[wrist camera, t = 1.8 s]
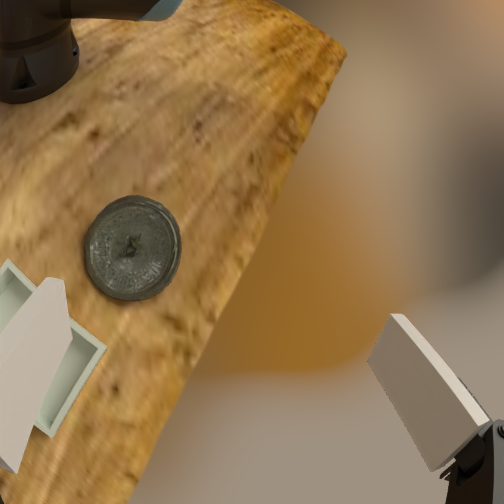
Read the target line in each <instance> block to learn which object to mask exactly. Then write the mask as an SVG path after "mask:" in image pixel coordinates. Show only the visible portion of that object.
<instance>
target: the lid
mask: <svg viewBox="0 0 504 504" xmlns="http://www.w3.org/2000/svg"><path fill="white" fill-rule="evenodd" d="M181 252H182V242H181V235H180V229H179V226H178V224H177V222H176V220H175V218H174V217H173V215H172V214H171V213H170V211H169V210H168V209H167V208H165V207H164V206H163V205H162V204H161V203H158V202H156V201H154V200H152V199H150V198H147V197H143V196H139V195H131V196H126V197H123V198H119V199H117V200H115V201H113V202H112V203H110V204H108V205H107V206H106V207H105V208H104V209H103V210H102V211H101V212H100V213H99V214H98V216H97V217H96V219H95V220H94V221H93V223H92V225H91V226H90V228H89V230H88V232H87V235H86V241H85V246H84V253H85V262H86V268H87V272H88V274H89V276H90V277H91V279H92V281H93V282H94V284H95V285H96V286H97V287H98V288H99V289H100V290H101V291H102V292H104V293H106V294H108V295H109V296H110V297H112V298H117V299H120V300H124V301H141V300H145V299H148V298H151V297H153V296H155V295H157V294H158V293H160V292H161V291H163V290H164V288H165V287H167V286H168V285H169V284H170V283H171V281H172V279H173V278H174V276H175V274H176V272H177V269H178V267H179V264H180V258H181Z"/></svg>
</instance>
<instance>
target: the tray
mask: <svg viewBox="0 0 504 504" xmlns="http://www.w3.org/2000/svg"><path fill="white" fill-rule="evenodd" d="M36 289H37V287H36V286H35V285H34V284H33V283H32V282H31V281H30V280H29V279H28V278H27V277H26V276H25V275H24V274H23V273H22V272H21V271H20V270H19V269H18V268H17V267H16V266H15V265H14V264H13V263H12V262H11V261H10V260H9V259H8V258H7V260H6V261H5V262H4V264H3V265H2V267H1V268H0V334H1V332H2V331H3V330H4V328H5V327H6V326H7V324H8V323H9V322H10V320H11V319H12V318H13V317H14V315H15V314H16V313H17V312H18V310H19V309H20V308H21V307H22V305H23V304H24V303H25V302H26V301H27V299H28V298H29V297H30V296H31V295H32V294H33V292H34V291H35V290H36ZM69 321H70V326H71V332H72V337H73V339H72V341H71V343H70V345H69V347H68V349H67V351H66V353H65V355H64V357H63V359H62V361H61V363H60V365H59V367H58V369H57V371H56V373H55V376H54V378H53V380H52V382H51V384H50V387H49V389H48V391H47V393H46V396H45V398H44V400H43V403H42V405H41V408H40V410H39V413H38V415H37V418H36V420H35V423H34V425H35V426H36V427H37V428H39V429H40V430H41V431H43V432H44V433H45V434H47V435H48V436H49V437H51V438H53V437H54V436H55V434H56V433H57V431H58V430H59V428H60V426H61V424H62V423H63V421H64V419H65V417H66V416H67V414H68V412H69V410H70V409H71V407H72V405H73V404H74V402H75V400H76V399H77V397H78V395H79V394H80V392H81V390H82V389H83V387H84V385H85V384H86V382H87V380H88V379H89V377H90V375H91V374H92V372H93V371H94V369H95V367H96V366H97V364H98V363H99V361H100V360H101V358H102V356H103V355H104V353H105V352H106V350H107V349H108V346H106V345H105V344H104V343H102V342H101V341H100V340H98V339H97V338H96V337H94V336H93V335H92V334H91V333H89V332H88V331H87V330H86V329H84V328H83V327H82V326H81V325H79V324H78V323H77V322H76V321H75V320H73V319H72V318H71V317H70V316H69Z"/></svg>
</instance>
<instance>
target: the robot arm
mask: <svg viewBox="0 0 504 504" xmlns="http://www.w3.org/2000/svg"><path fill="white" fill-rule="evenodd" d="M182 1H183V0H0V100H1V101H3V102H6V103H24V102H29V101H32V100H36V99H39V98H41V97H44V96H46V95H48V94H50V93H52V92H54V91H55V90H57V89H59V88H60V87H61V86H63V85H64V84H65V83H66V82H68V81H69V80H70V79H71V78H72V76H73V75H74V74H75V72H76V70H77V68H78V65H79V47H78V44H77V41H76V38H75V35H74V32H73V29H72V26H71V19H75V18H97V19H118V20H131V21H135V22H136V21H137V22H139V21H163V20H166V19H168V18H169V17H171V16H172V15H173V14H174V13H175V11H176V10H177V9H178V7H179V6H180V5H181V3H182ZM72 339H73V337H72V332H71V326H70V321H69V315H68V308H67V301H66V294H65V286H64V280H61V279H56V278H51V277H47V278H46V279H45V280H44V281H43V282H42V283H41V284H40V285H39V287H38V288H37V289H36V290H35V291H34V292H33V294H32V295H31V296H30V297H29V298H28V299H27V301H26V302H25V303H24V304H23V305H22V307H21V308H20V309H19V310H18V312H17V313H16V314H15V315H14V317H13V318H12V319H11V320H10V322H9V323H8V324H7V326H6V327H5V328H4V330H3V331H2V332H1V334H0V467H2V468H4V469H6V470H8V471H11V472H13V473H15V474H17V473H18V469H19V466H20V463H21V460H22V457H23V454H24V451H25V448H26V445H27V442H28V439H29V436H30V433H31V431H32V428H33V425H34V423H35V420H36V418H37V415H38V413H39V410H40V408H41V405H42V403H43V400H44V398H45V396H46V393H47V391H48V389H49V387H50V384H51V382H52V380H53V378H54V376H55V373H56V371H57V369H58V367H59V365H60V363H61V361H62V359H63V357H64V355H65V353H66V351H67V349H68V347H69V345H70V343H71V341H72ZM367 362H368V364H369V366H370V367H371V369H372V371H373V372H374V374H375V375H376V377H377V379H378V381H379V382H380V384H381V386H382V387H383V389H384V391H385V392H386V394H387V396H388V397H389V399H390V401H391V402H392V404H393V406H394V407H395V409H396V411H397V413H398V414H399V416H400V418H401V420H402V421H403V423H404V425H405V427H406V428H407V430H408V432H409V434H410V435H411V437H412V439H413V441H414V443H415V444H416V446H417V448H418V450H419V452H420V453H421V455H422V457H423V459H424V461H425V462H426V464H427V466H428V468H429V470H430V472H433V471H435V470H437V469H439V468H441V467H443V466H445V465H446V464H447V463H448V462H449V461H450V460H451V459H453V458H455V459H456V461H455V462H454V463H453V464H452V465H451V466H449V467H448V468H447V469H446V470H445V471H444V472H443V473H442V474H441V475H440V479H442V478H443V477H444V476H446V475H447V474H448V473H449V472H451V473H450V474H449V475H448V476H447V477H446V478H445V480H447V481H449V486H448V492H447V498H446V503H445V504H504V420H499V419H498V420H496V421H495V422H493V421H492V419H491V418H490V417H489V416H488V414H487V413H486V412H485V410H484V409H483V408H482V406H481V405H480V404H479V402H478V401H477V400H476V398H475V397H474V396H472V393H471V392H470V391H469V390H467V387H466V386H465V384H464V383H463V382H462V381H461V379H459V378H458V377H457V376H456V375H455V374H454V373H453V372H452V371H451V369H450V368H449V367H448V366H447V365H446V363H445V362H444V361H443V360H442V358H441V357H440V356H439V355H438V354H437V353H436V351H435V350H434V349H433V348H432V347H431V346H430V344H429V343H428V342H427V341H426V340H425V339H424V338H423V336H422V335H421V334H420V333H419V332H418V331H417V329H416V328H415V327H414V326H413V325H412V324H411V323H410V321H408V319H407V318H406V317H405V316H404V315H403V314H390V315H389V318H388V320H387V322H386V324H385V326H384V328H383V330H382V332H381V335H380V337H379V338H378V341H377V343H376V345H375V347H374V348H373V350H372V352H371V355H370V356H369V358H368V360H367ZM0 504H4V502H3V500H2V498H1V495H0Z"/></svg>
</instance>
